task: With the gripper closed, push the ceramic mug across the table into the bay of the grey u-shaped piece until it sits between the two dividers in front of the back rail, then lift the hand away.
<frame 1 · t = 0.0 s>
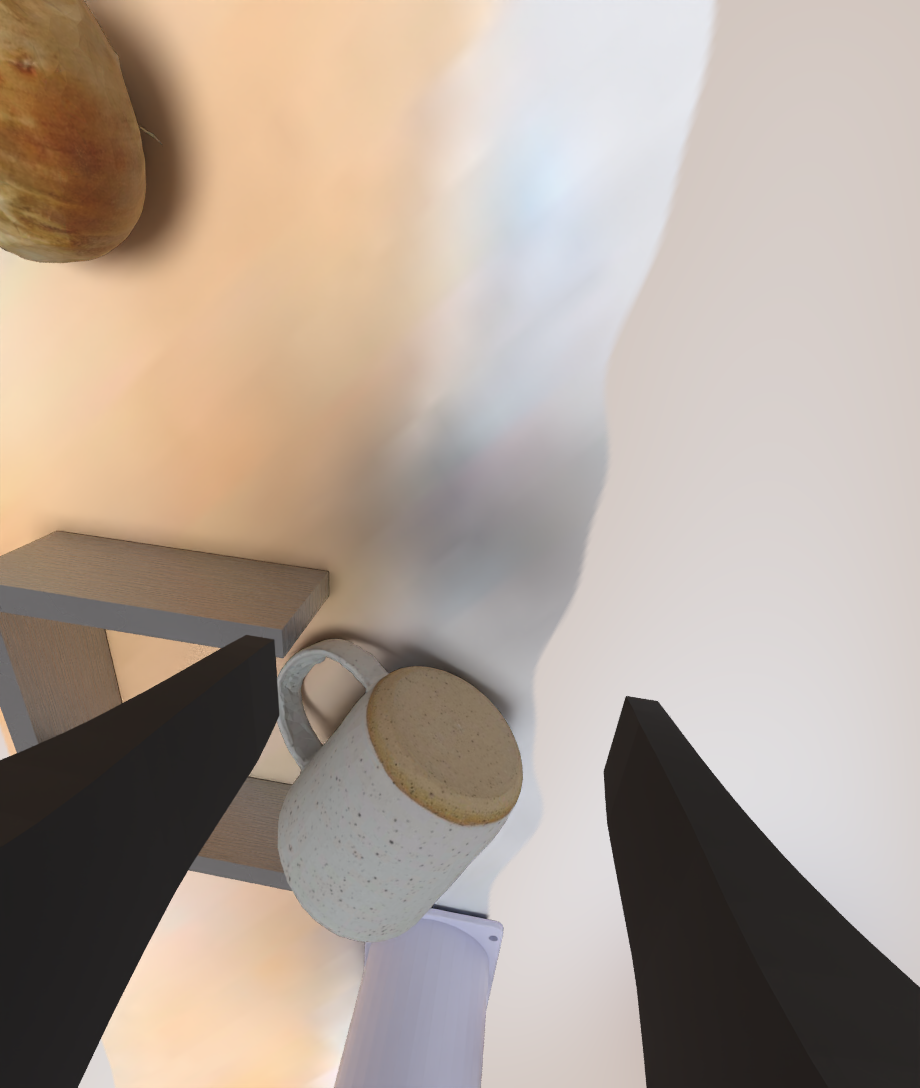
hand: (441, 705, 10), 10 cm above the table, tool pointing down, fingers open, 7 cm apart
ceramic mug: (396, 710, 24), on the table
grey u-shaped piece: (215, 684, 25), on the table
onion: (90, 144, 16), on the table
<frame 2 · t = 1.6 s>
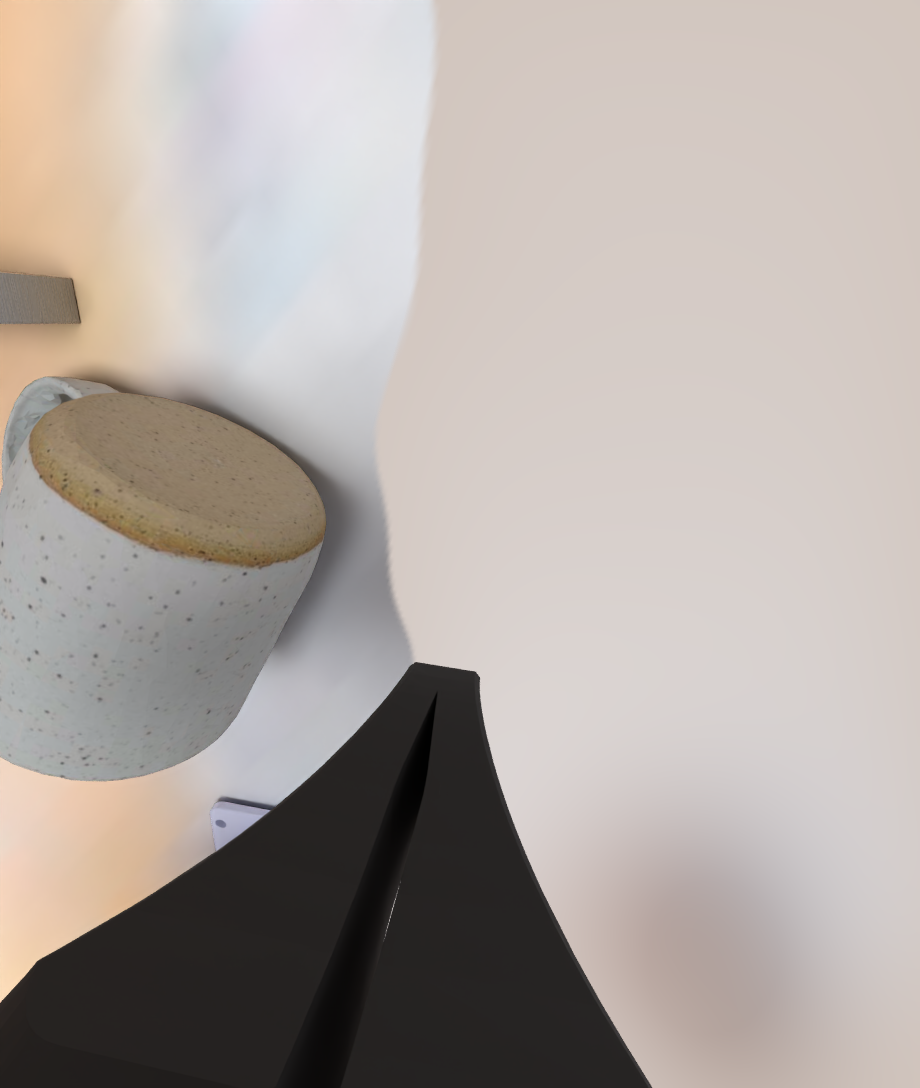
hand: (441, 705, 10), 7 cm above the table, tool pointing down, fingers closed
ceramic mug: (195, 510, 18), on the table
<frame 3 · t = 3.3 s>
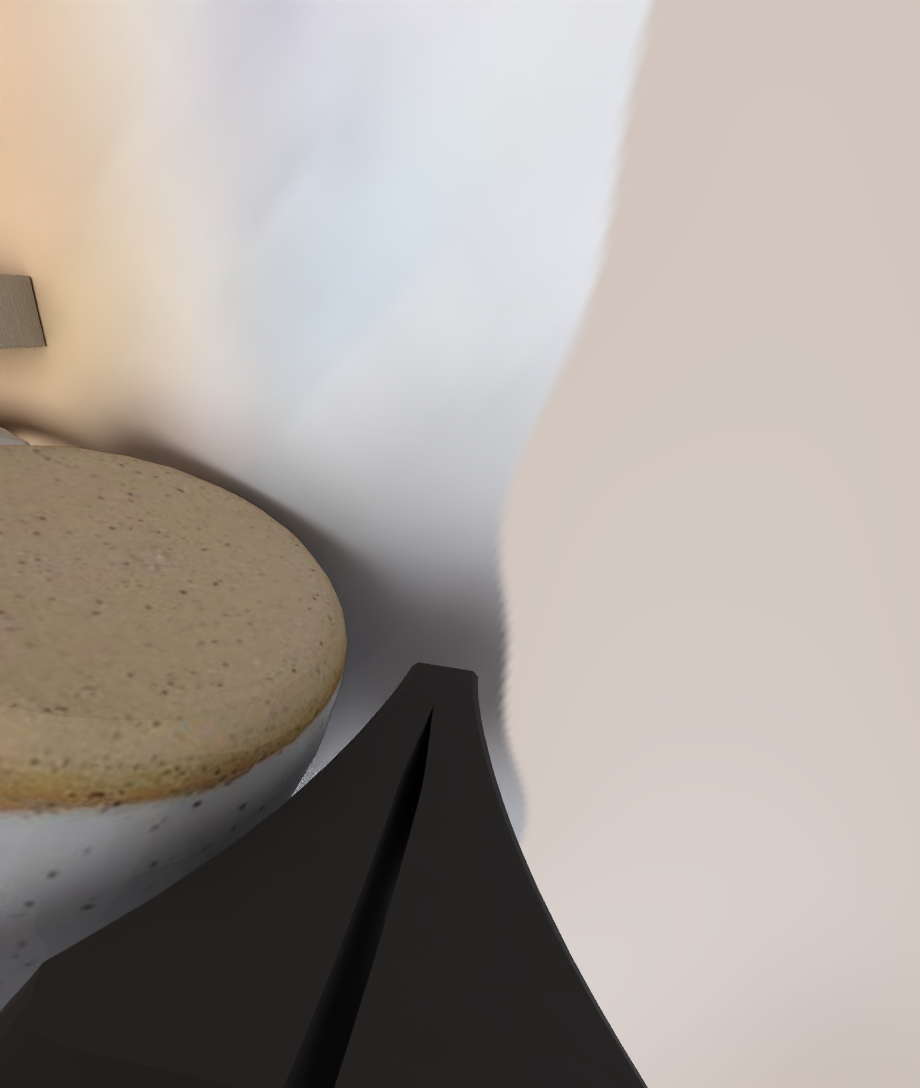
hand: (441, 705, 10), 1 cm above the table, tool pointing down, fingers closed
ceramic mug: (155, 597, 12), on the table, touching gripper
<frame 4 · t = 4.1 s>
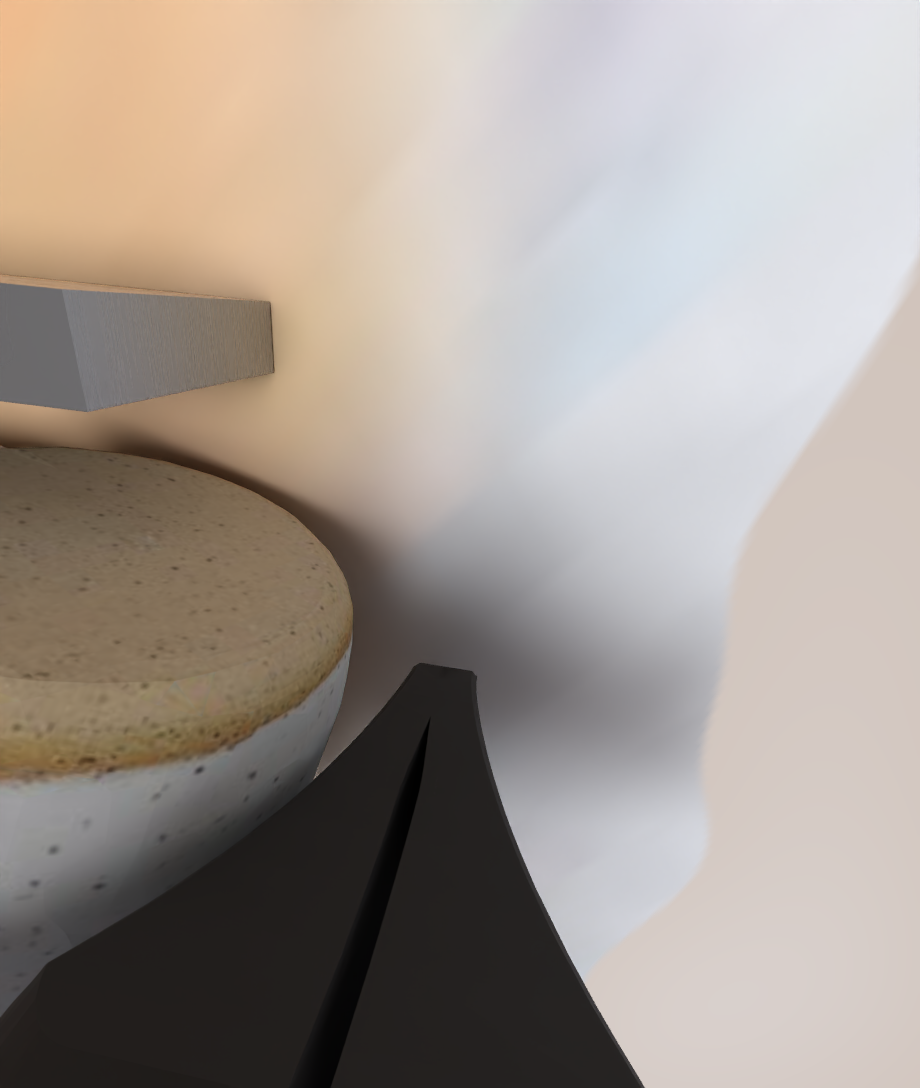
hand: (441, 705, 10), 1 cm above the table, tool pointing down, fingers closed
ceramic mug: (169, 602, 12), on the table, touching gripper
grey u-shaped piece: (61, 602, 12), on the table
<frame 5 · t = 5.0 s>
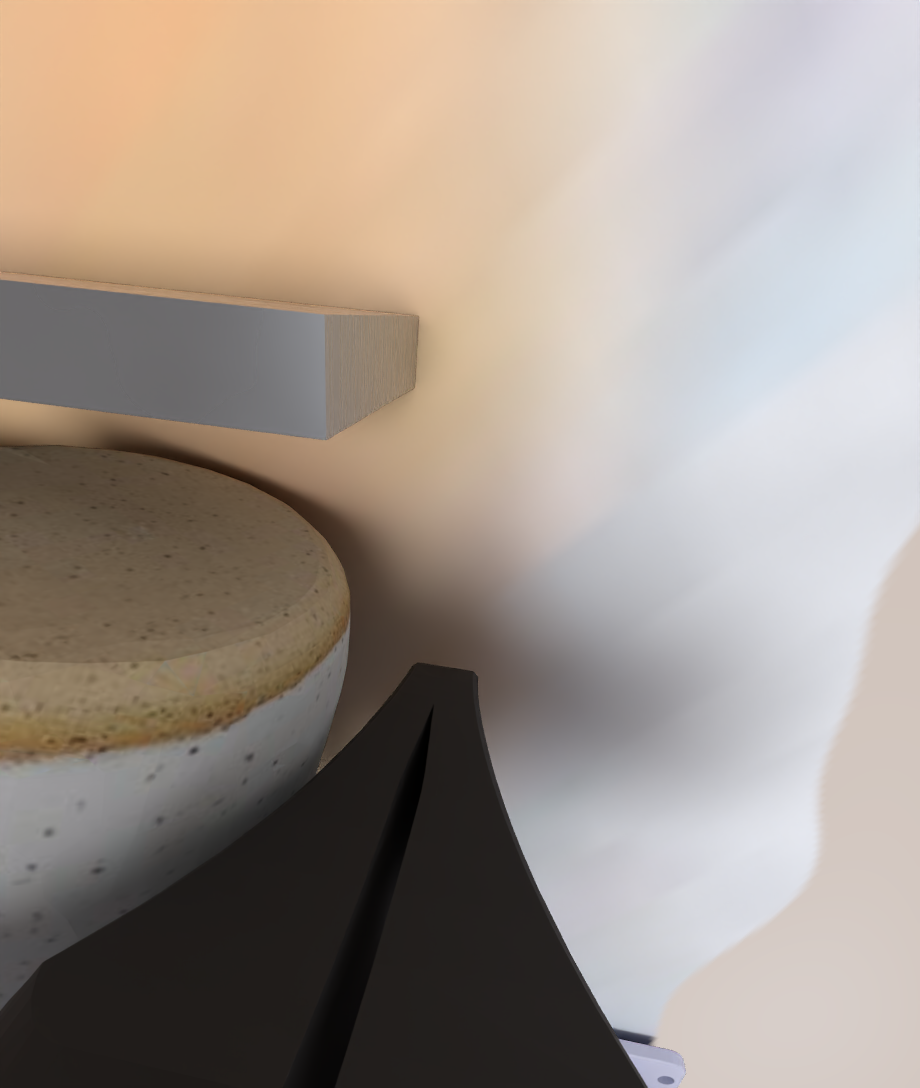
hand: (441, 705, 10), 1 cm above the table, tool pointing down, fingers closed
ceramic mug: (172, 602, 12), on the table, touching gripper
grey u-shaped piece: (163, 617, 12), on the table
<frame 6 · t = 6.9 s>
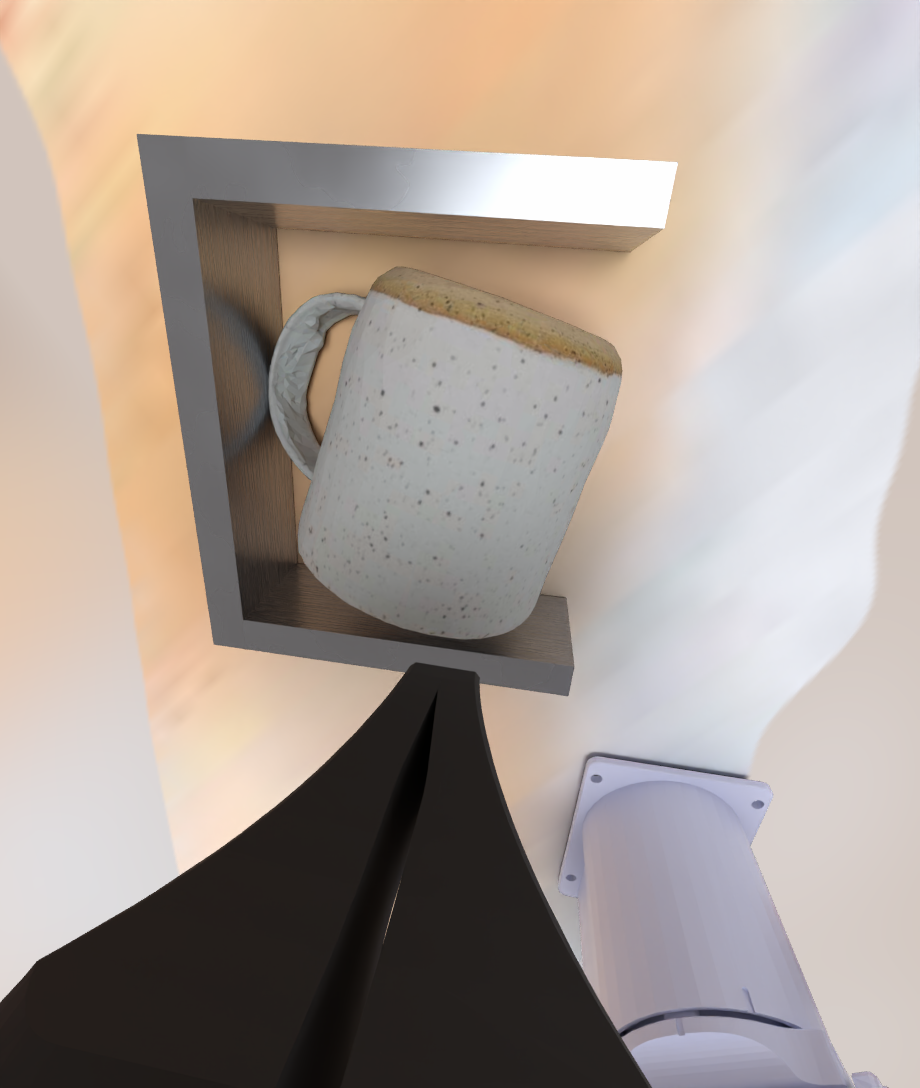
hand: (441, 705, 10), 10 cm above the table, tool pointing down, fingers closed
ceramic mug: (434, 421, 18), on the table
grey u-shaped piece: (429, 432, 18), on the table
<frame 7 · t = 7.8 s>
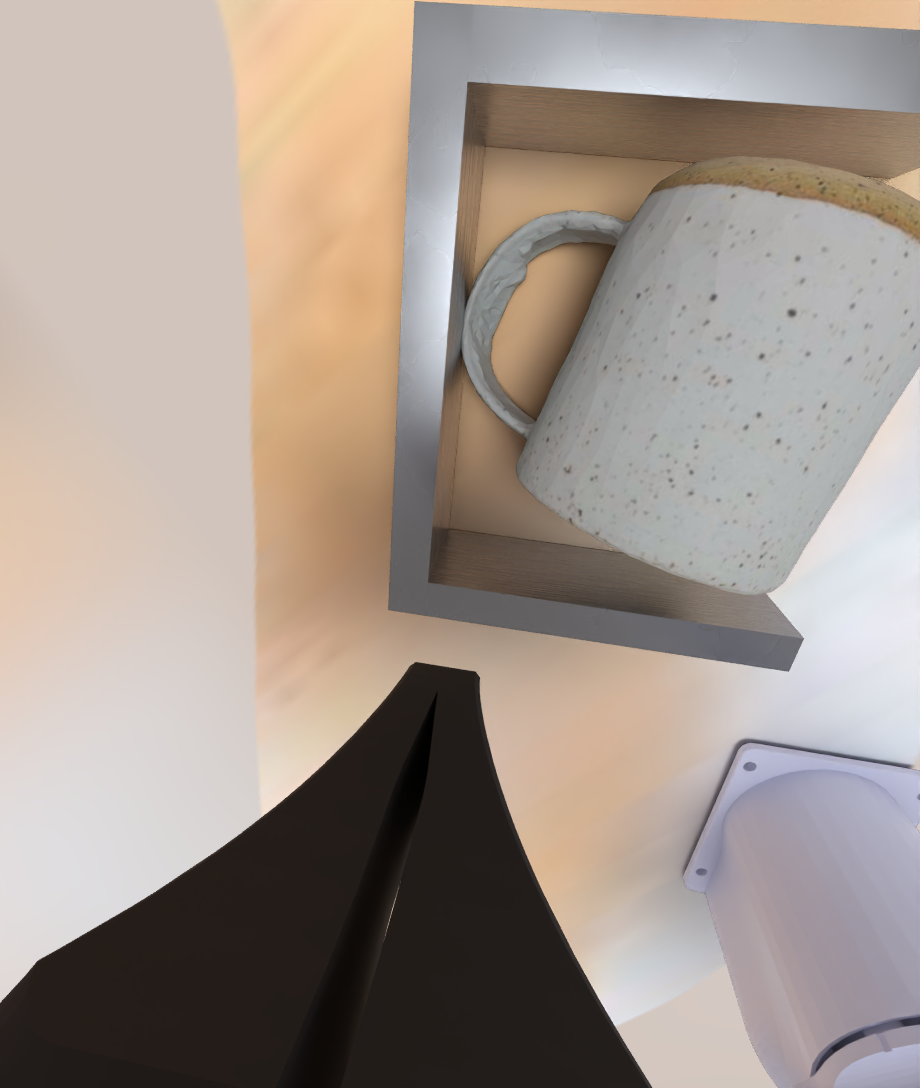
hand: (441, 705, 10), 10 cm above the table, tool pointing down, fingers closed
ceramic mug: (628, 369, 17), on the table
grey u-shaped piece: (624, 383, 17), on the table
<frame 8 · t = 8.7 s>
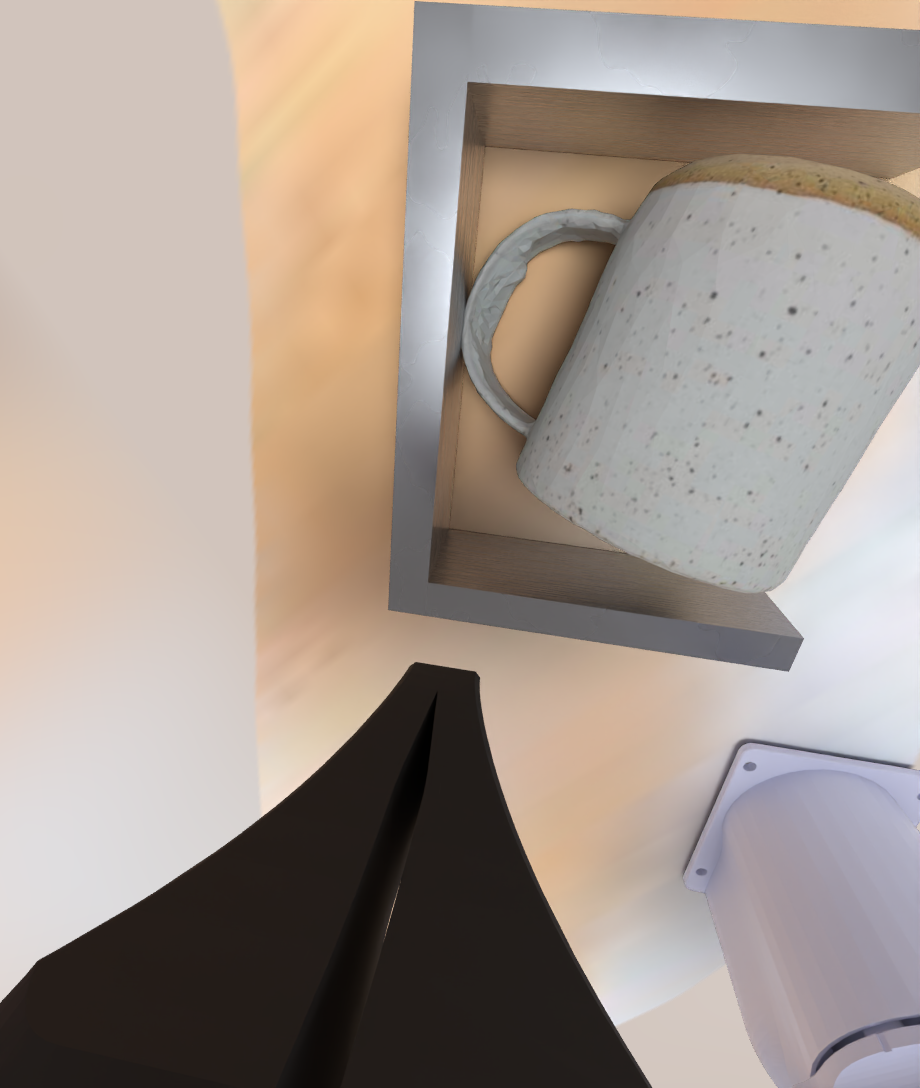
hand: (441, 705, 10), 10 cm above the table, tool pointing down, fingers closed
ceramic mug: (628, 367, 17), on the table
grey u-shaped piece: (624, 383, 17), on the table
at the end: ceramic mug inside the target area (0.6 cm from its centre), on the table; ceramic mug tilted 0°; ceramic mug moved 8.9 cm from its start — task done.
